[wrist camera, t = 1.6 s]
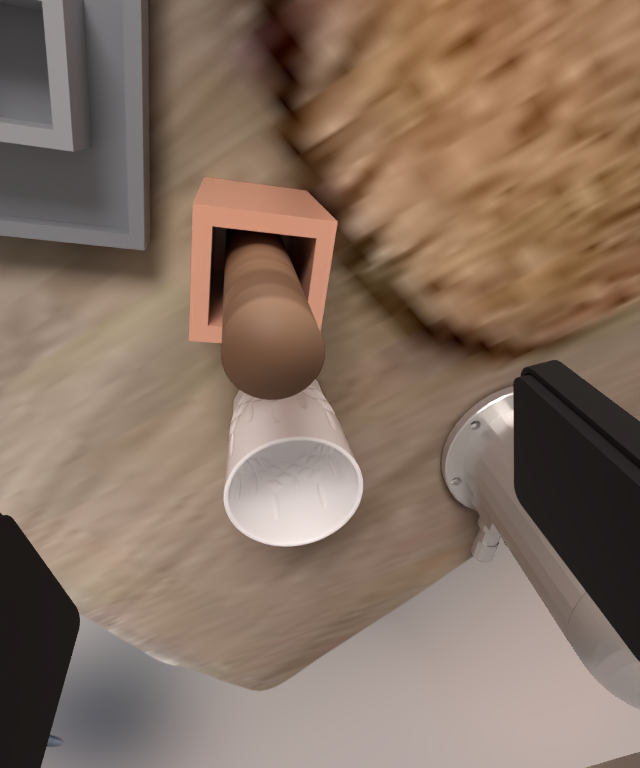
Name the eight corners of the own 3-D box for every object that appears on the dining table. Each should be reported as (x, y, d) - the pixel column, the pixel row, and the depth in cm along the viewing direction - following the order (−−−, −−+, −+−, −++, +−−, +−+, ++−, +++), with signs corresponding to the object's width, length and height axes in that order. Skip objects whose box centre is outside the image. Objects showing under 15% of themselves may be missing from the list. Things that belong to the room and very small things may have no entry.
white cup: (216, 442, 37) (211, 541, 29) (237, 347, 34) (239, 427, 25) (316, 455, 39) (340, 552, 31) (345, 368, 36) (382, 448, 27)
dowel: (276, 266, 31) (317, 402, 17) (224, 261, 31) (218, 397, 16) (281, 213, 30) (331, 310, 15) (227, 206, 29) (224, 300, 14)
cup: (294, 287, 33) (317, 349, 24) (200, 278, 32) (189, 340, 23) (306, 190, 30) (337, 221, 21) (204, 176, 29) (193, 203, 20)
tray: (150, 241, 30) (138, 260, 26) (-78, 216, 28) (-129, 233, 24) (147, -114, 23) (129, -161, 19) (-162, -189, 20) (-255, -262, 16)
